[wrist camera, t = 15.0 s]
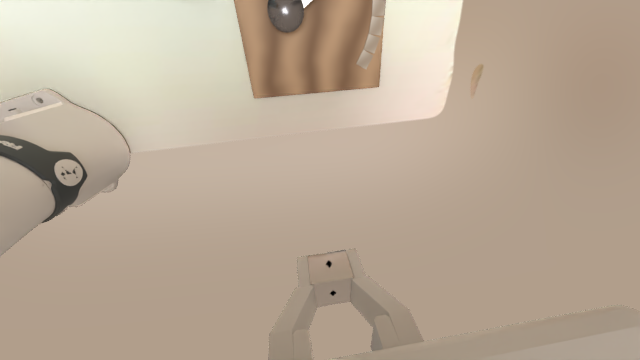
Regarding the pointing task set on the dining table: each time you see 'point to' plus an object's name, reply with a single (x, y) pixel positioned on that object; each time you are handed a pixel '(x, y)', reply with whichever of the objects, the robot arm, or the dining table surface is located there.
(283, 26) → the peg lever
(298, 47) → the tuner board
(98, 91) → the dining table surface
